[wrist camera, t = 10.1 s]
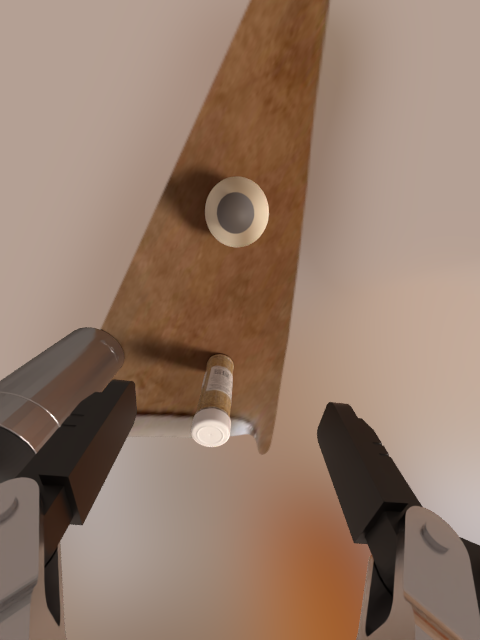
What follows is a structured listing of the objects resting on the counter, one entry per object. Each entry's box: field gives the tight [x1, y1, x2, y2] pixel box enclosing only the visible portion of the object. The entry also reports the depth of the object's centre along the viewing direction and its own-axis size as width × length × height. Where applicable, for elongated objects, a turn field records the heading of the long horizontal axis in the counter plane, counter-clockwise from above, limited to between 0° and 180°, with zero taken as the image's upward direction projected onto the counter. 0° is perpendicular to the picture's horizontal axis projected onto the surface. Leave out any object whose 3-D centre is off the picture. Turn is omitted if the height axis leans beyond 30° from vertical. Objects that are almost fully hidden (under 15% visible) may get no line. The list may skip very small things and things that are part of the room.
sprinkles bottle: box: [191, 354, 234, 447], centre depth 32 cm, size 5×5×13 cm
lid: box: [205, 177, 269, 247], centre depth 23 cm, size 7×7×5 cm
